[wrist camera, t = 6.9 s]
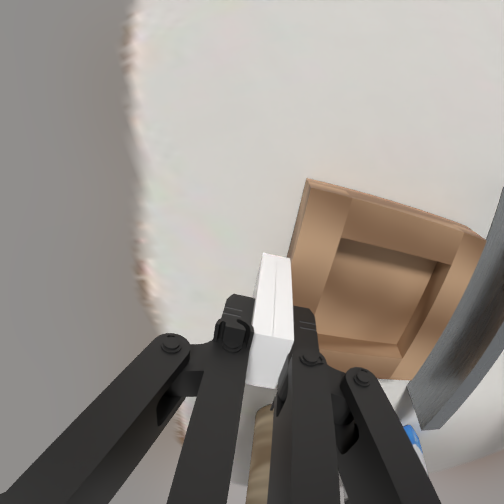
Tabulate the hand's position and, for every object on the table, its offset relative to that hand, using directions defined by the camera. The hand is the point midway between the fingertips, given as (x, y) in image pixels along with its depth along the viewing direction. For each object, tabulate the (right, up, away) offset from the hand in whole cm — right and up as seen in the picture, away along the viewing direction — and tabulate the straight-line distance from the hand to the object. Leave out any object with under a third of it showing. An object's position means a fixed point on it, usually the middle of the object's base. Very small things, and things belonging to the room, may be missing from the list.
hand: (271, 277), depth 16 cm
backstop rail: (+15, -2, +2) cm, 15 cm away
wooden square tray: (+6, -1, +2) cm, 6 cm away
